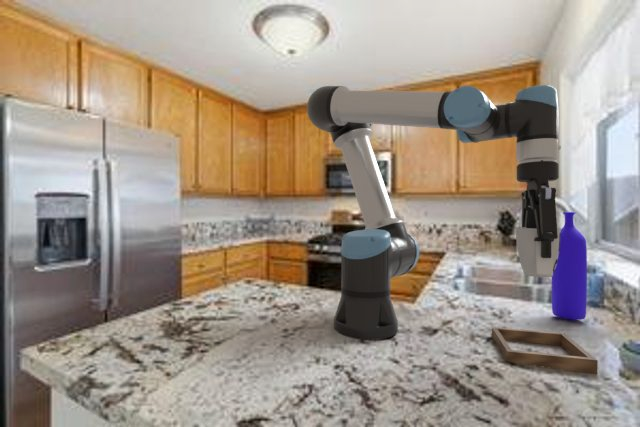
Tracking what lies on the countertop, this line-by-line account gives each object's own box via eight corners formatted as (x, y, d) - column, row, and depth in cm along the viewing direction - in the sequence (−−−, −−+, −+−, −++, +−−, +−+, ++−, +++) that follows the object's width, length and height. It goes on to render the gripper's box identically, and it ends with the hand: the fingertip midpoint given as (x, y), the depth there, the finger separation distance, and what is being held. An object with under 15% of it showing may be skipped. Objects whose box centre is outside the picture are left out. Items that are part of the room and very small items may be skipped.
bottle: (555, 318, 99) (555, 211, 99) (548, 310, 106) (548, 211, 106) (591, 321, 96) (591, 211, 95) (581, 313, 103) (581, 211, 103)
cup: (569, 279, 69) (568, 228, 69) (523, 278, 70) (523, 228, 71) (550, 272, 77) (550, 227, 77) (510, 271, 78) (510, 227, 78)
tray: (507, 364, 69) (507, 351, 69) (491, 337, 83) (491, 327, 83) (597, 373, 65) (597, 360, 65) (564, 344, 79) (564, 333, 79)
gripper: (578, 153, 63) (579, 280, 63) (541, 167, 82) (541, 264, 82) (531, 155, 65) (532, 278, 65) (505, 169, 85) (506, 263, 84)
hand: (537, 270), depth 74 cm, fingers closed on cup, 7 cm apart
